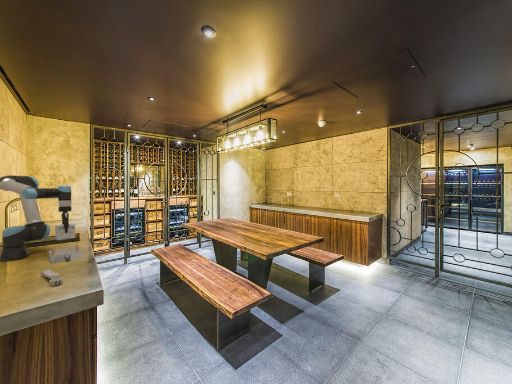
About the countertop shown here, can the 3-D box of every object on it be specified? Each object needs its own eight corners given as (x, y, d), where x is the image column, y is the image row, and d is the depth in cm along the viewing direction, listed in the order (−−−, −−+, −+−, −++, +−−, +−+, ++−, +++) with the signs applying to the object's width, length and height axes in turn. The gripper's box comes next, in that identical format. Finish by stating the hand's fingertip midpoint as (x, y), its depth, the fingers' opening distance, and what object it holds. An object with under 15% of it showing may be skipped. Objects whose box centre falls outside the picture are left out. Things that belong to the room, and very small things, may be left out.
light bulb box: (72, 236, 176) (72, 223, 176) (75, 237, 172) (75, 223, 172) (55, 239, 168) (54, 224, 167) (57, 240, 164) (57, 225, 164)
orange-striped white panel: (48, 257, 171) (48, 246, 171) (78, 252, 184) (78, 242, 184) (50, 264, 155) (50, 253, 155) (83, 258, 168) (83, 248, 168)
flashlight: (50, 267, 139) (63, 271, 124) (51, 278, 138) (64, 283, 124) (39, 270, 135) (50, 274, 120) (39, 281, 134) (51, 286, 120)
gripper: (57, 205, 174) (57, 235, 174) (59, 207, 160) (60, 239, 160) (69, 205, 179) (70, 233, 180) (73, 206, 165) (73, 237, 166)
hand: (65, 236), depth 170 cm, fingers closed on light bulb box, 7 cm apart
